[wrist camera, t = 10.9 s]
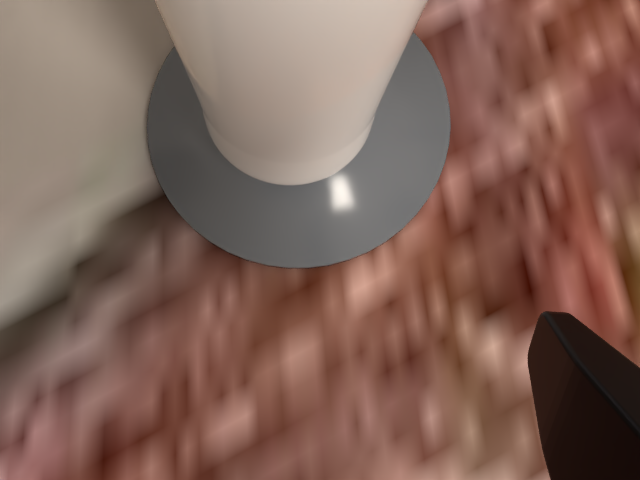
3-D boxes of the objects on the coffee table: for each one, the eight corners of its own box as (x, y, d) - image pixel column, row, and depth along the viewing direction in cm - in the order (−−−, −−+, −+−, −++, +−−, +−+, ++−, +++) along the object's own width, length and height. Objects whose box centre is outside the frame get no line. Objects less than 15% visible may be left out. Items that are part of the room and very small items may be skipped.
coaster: (342, 330, 18) (343, 329, 18) (88, 161, 19) (85, 158, 19) (503, 82, 20) (506, 77, 20) (261, -58, 21) (260, -64, 21)
